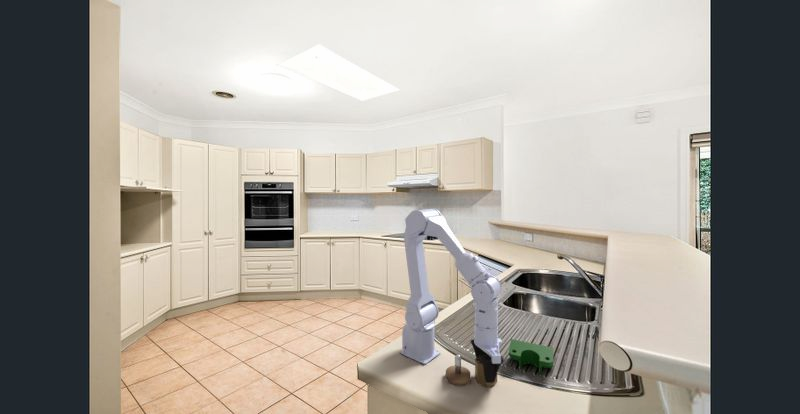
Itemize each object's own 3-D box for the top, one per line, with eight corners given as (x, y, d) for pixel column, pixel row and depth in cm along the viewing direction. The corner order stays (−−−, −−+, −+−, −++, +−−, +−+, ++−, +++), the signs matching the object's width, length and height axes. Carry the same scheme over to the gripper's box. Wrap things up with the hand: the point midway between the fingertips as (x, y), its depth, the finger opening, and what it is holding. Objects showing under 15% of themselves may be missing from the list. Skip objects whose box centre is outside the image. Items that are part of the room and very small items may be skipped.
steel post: (453, 372, 80) (453, 355, 80) (456, 370, 82) (456, 352, 81) (459, 375, 79) (459, 357, 79) (462, 372, 80) (462, 354, 80)
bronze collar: (472, 380, 79) (472, 362, 79) (481, 371, 83) (481, 353, 83) (491, 389, 76) (491, 369, 76) (499, 379, 80) (499, 360, 79)
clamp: (516, 381, 86) (502, 354, 85) (518, 365, 91) (505, 339, 90) (560, 378, 79) (545, 349, 79) (560, 361, 84) (546, 334, 84)
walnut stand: (441, 378, 80) (441, 373, 80) (453, 367, 85) (453, 362, 85) (462, 389, 76) (462, 383, 76) (474, 377, 81) (474, 371, 81)
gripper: (513, 336, 72) (513, 392, 72) (491, 311, 86) (491, 358, 87) (484, 338, 71) (484, 394, 72) (466, 313, 86) (466, 359, 86)
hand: (486, 374), depth 79 cm, fingers closed on bronze collar, 5 cm apart
